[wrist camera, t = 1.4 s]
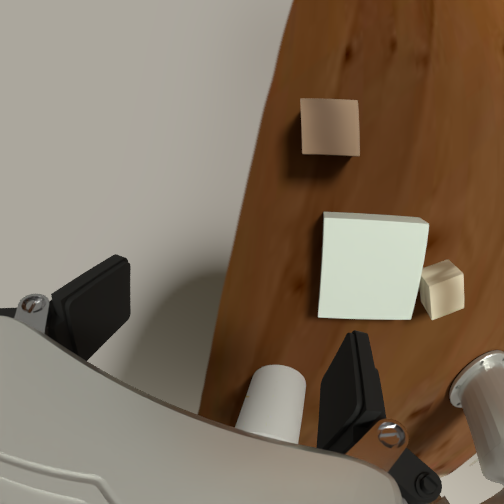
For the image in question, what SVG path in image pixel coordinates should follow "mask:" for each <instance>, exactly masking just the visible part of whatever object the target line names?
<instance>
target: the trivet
mask: <svg viewBox="0 0 504 504" xmlns="http://www.w3.org/2000/svg"><path fill="white" fill-rule="evenodd" d="M428 230H429V224H428V223H427V222H425V221H424V220H422V219H421V218H419V217H406V216H392V215H377V214H360V213H340V212H323V240H322V260H321V276H320V290H319V302H318V317H321V318H344V319H386V320H411V317H412V313H413V309H414V305H415V301H416V297H417V293H418V288H419V284H420V279H421V274H422V268H423V263H424V257H425V251H426V245H427V237H428Z"/></svg>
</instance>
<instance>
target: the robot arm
mask: <svg viewBox="0 0 504 504" xmlns="http://www.w3.org/2000/svg"><path fill="white" fill-rule="evenodd" d="M51 295H52V300H51V301H50V302H49V300H48V298H47V297H46V296H44V295H41V294H31V295H27V296H26V297H24V298H23V299H22V300H20V302H19V304H18V307H17V308H0V504H450V503H449V502H448V500H447V499H446V497H445V496H444V497H442V498H441V496H440V493H441V489H442V484H441V480H440V478H439V476H438V475H437V474H436V473H435V472H434V471H433V470H432V469H430V468H429V467H428V466H427V465H426V464H425V463H423V462H422V461H421V460H420V459H419V458H418V457H417V456H415V455H414V454H413V453H412V452H411V451H410V450H409V449H407V448H406V447H407V445H408V443H409V435H408V432H407V430H406V428H405V427H404V426H403V425H402V424H401V423H400V422H398V421H396V420H393V419H386V414H385V407H384V401H383V395H382V389H381V384H380V378H379V373H378V370H377V369H376V368H375V366H374V361H373V356H372V351H371V346H370V342H369V337H368V334H367V333H363V332H359V331H355V330H354V331H353V332H352V333H347V335H346V337H345V339H344V341H343V342H342V344H341V346H340V348H339V350H338V352H337V354H336V356H335V357H334V359H333V361H332V363H331V365H330V366H329V368H328V370H327V372H326V373H325V375H324V377H323V379H322V382H321V388H320V408H319V424H318V437H317V448H314V447H309V446H304V445H299V444H295V443H290V442H286V441H282V440H278V439H274V438H270V437H266V436H262V435H258V434H254V433H251V432H247V431H244V430H241V429H237V428H234V427H231V426H228V425H225V424H222V423H219V422H216V421H213V420H210V419H207V418H204V417H202V416H199V415H196V414H194V413H191V412H188V411H186V410H183V409H181V408H179V407H176V406H174V405H171V404H169V403H167V402H164V401H162V400H160V399H158V398H155V397H153V396H151V395H149V394H147V393H145V392H143V391H141V390H138V389H136V388H134V387H132V386H130V385H128V384H127V383H124V382H123V381H121V380H119V379H117V378H115V377H113V376H111V375H110V374H108V373H106V372H104V371H102V370H101V369H99V368H97V367H96V366H94V365H92V364H90V363H89V362H87V360H88V359H89V358H90V357H91V356H92V355H93V354H94V353H95V352H96V351H97V350H98V349H99V348H100V347H101V346H102V345H103V344H104V343H105V342H106V341H107V340H108V339H109V338H110V337H111V336H112V335H113V334H114V333H115V332H116V331H117V330H118V329H119V328H120V327H121V326H122V325H123V324H124V323H125V322H126V321H127V320H128V319H129V317H130V263H128V260H127V259H126V258H124V257H122V256H119V255H113V256H111V257H110V258H108V259H106V260H105V261H103V262H101V263H100V264H98V265H96V266H95V267H93V268H92V269H90V270H88V271H87V272H85V273H83V274H82V275H80V276H79V277H77V278H75V279H74V280H72V281H71V282H69V283H68V284H66V285H65V286H63V287H62V288H60V289H59V290H57V291H55V292H54V293H52V294H51ZM449 398H450V401H451V403H452V404H453V405H454V406H455V407H459V408H463V411H464V414H465V416H466V419H467V422H468V425H469V428H470V431H471V435H472V438H473V441H474V445H475V448H476V452H477V455H478V459H479V463H480V466H481V470H482V473H483V475H484V476H485V477H486V478H487V479H488V480H490V481H493V482H496V483H500V484H502V485H504V352H503V351H500V350H495V351H491V352H488V353H485V354H483V355H481V356H480V357H478V358H476V359H475V360H474V361H472V362H471V363H470V364H469V365H467V366H466V367H465V368H464V369H463V370H462V371H461V373H460V374H459V375H458V376H457V378H456V379H455V380H454V382H453V384H452V386H451V388H450V392H449ZM481 504H504V488H503V489H502V490H501V491H500V492H498V493H497V494H495V495H494V496H492V497H491V498H489V499H487V500H486V501H484V502H482V503H481Z"/></svg>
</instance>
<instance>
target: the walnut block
mask: <svg viewBox="0 0 504 504" xmlns="http://www.w3.org/2000/svg"><path fill="white" fill-rule="evenodd" d="M300 102H301V127H302V154H304V155H338V156H360V141H359V112H358V101H357V100H342V99H300Z"/></svg>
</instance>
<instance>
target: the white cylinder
mask: <svg viewBox="0 0 504 504" xmlns="http://www.w3.org/2000/svg"><path fill="white" fill-rule="evenodd" d="M305 389H306V382H305V379H304V377H303V376H302V375H301V374H300V373H299V372H298V371H296V370H294V369H292V368H290V367H287V366H283V365H269V366H265V367H262V368H260V369H258V370H257V371H256V372H255V373H254V375H253V377H252V380H251V383H250V386H249V389H248V392H247V395H246V398H245V401H244V403H243V406H242V409H241V412H240V415H239V418H238V420H237V423H236V426H235V428H237V429H241V430H244V431H247V432H251V433H254V434H258V435H262V436H266V437H270V438H274V439H278V440H282V441H286V442H290V443H295V444H298V440H299V433H300V427H301V420H302V413H303V405H304V398H305Z"/></svg>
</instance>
